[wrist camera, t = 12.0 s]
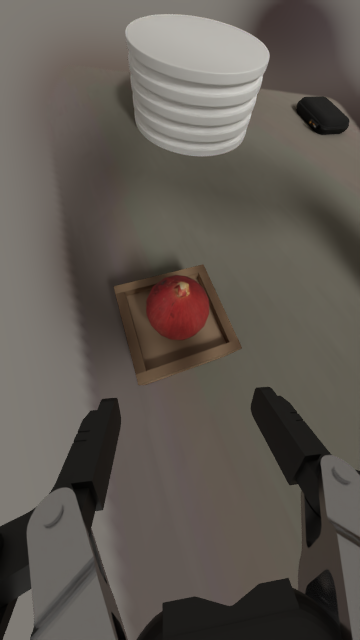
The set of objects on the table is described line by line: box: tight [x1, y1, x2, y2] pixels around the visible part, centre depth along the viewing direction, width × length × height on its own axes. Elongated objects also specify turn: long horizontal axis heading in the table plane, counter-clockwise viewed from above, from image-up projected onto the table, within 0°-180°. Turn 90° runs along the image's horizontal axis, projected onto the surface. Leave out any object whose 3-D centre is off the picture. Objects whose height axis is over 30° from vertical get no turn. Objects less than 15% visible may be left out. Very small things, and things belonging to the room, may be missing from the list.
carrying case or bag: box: [297, 97, 349, 135], centre depth 49 cm, size 11×3×15 cm
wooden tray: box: [114, 265, 242, 385], centre depth 22 cm, size 11×11×6 cm
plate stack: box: [125, 14, 270, 156], centre depth 39 cm, size 28×28×12 cm
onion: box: [146, 275, 209, 340], centre depth 16 cm, size 6×6×8 cm
